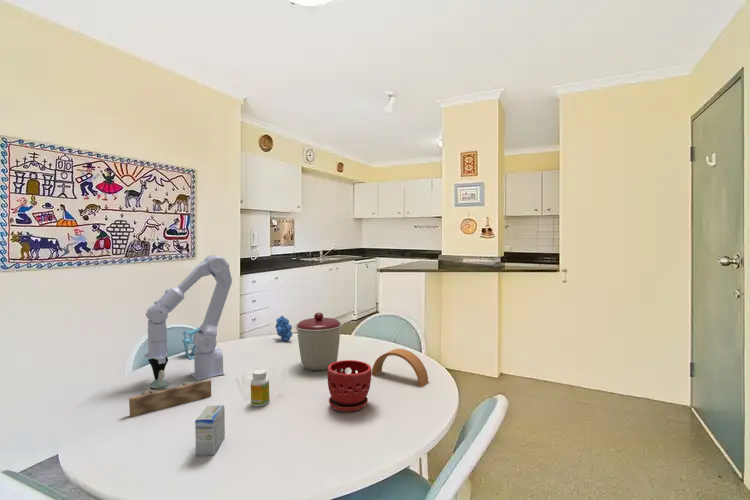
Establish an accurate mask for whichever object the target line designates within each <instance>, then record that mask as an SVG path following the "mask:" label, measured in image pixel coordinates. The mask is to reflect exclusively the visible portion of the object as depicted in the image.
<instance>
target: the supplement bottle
mask: <svg viewBox="0 0 750 500" xmlns="http://www.w3.org/2000/svg"><path fill="white" fill-rule="evenodd" d="M269 403H270V379H269V378H268V377H267V370H266V369H256V370H253V371H252V378H251V380H250V404H251V406H253V407H263V406H266V405H268V404H269Z"/></svg>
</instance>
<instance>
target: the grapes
mask: <svg viewBox="0 0 750 500" xmlns="http://www.w3.org/2000/svg"><path fill="white" fill-rule="evenodd" d="M275 322H276V324H275V329H276V333H277V334H276V335H277V336H278V337H280V340H281V341H283V342H284V341H286V342H290V340H291V338H292V337H293V332H292V329H293V327H292V325H291V324H290V320H289V319H288V318H287V317H286V318H285V317H284V315H281V316H279V317H277V318H276V320H275Z"/></svg>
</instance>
